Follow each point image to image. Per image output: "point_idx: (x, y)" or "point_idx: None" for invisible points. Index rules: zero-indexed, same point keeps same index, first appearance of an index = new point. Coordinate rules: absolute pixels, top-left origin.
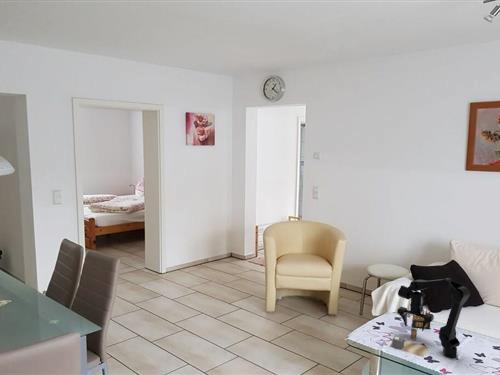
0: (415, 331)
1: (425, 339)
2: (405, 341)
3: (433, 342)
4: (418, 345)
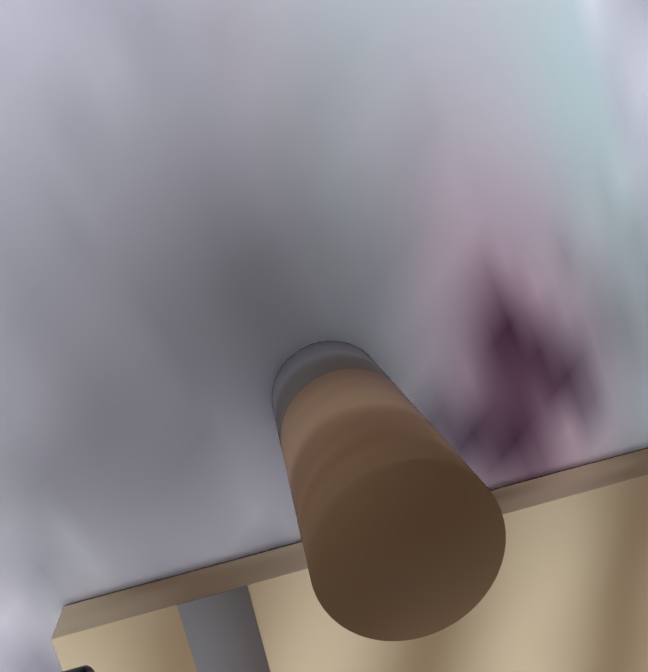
0: (479, 582)
1: (455, 44)
2: (273, 632)
3: (634, 55)
4: (526, 563)
